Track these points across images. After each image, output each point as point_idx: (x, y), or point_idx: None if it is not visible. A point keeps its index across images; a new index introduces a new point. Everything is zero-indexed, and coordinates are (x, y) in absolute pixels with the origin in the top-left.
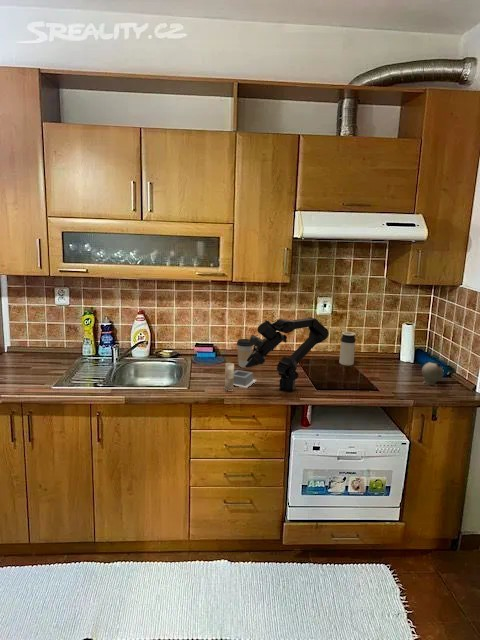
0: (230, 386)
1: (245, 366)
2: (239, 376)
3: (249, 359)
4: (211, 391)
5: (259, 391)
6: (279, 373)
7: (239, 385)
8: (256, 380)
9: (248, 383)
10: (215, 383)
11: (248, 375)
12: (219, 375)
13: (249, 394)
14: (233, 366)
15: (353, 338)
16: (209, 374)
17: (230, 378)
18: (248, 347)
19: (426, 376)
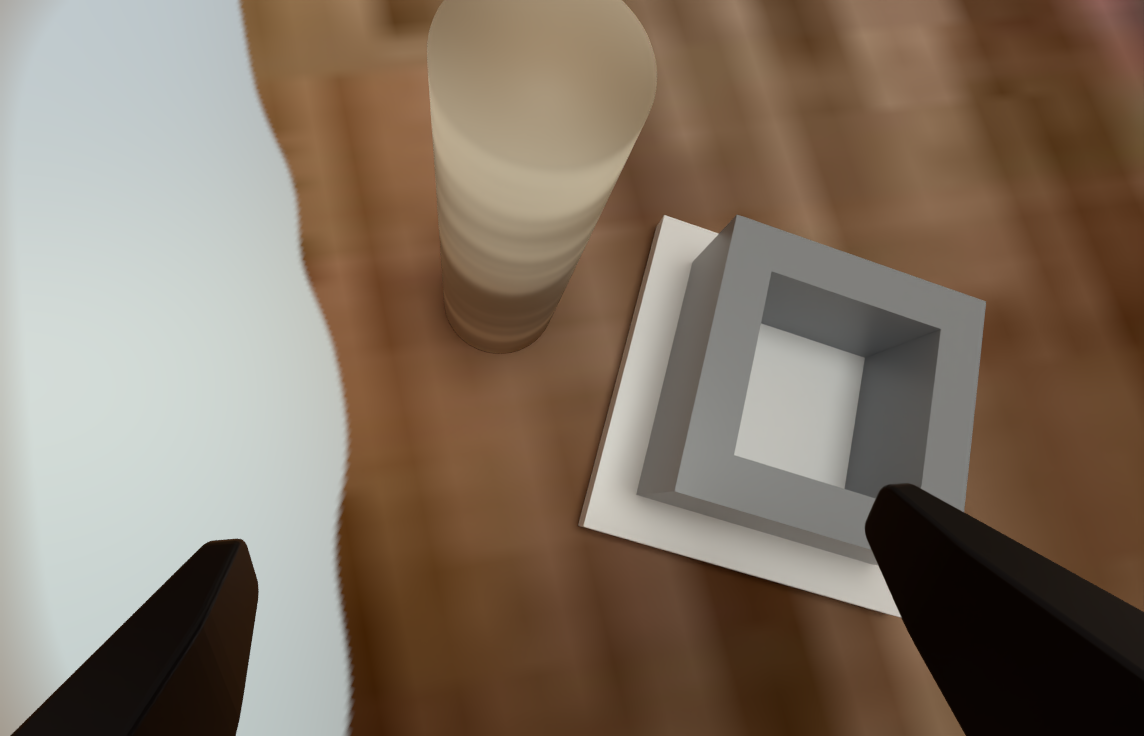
0: (449, 299)
1: (202, 553)
2: (717, 380)
3: (926, 582)
4: (408, 105)
5: (542, 723)
6: None
7: (628, 412)
8: (892, 615)
9: (734, 524)
10: (677, 123)
11: (806, 519)
12: (930, 140)
13: (394, 595)
14: (503, 181)
15: None
16: (921, 39)
17: (442, 247)
18: None
19: None
